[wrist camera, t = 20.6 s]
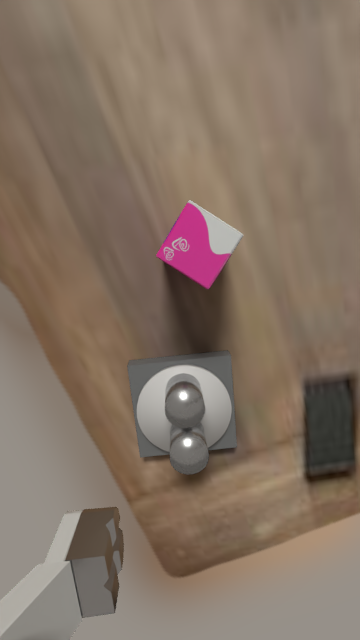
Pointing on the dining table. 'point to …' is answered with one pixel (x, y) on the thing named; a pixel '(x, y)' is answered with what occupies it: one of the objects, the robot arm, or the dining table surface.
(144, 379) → the scale
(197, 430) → the cylinder
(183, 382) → the cylinder
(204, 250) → the supplement box
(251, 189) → the dining table surface
